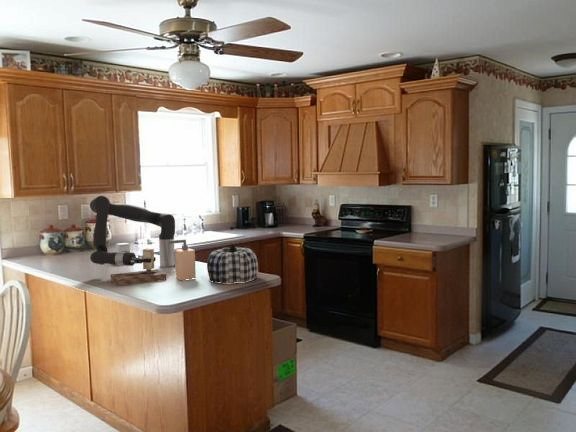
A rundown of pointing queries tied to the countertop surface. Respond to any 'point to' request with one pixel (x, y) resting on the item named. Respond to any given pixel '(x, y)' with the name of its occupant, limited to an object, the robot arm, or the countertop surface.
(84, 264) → the countertop surface
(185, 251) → the soap dispenser
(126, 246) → the supplement box
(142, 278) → the walnut keyhole board
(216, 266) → the decorative pumpkin
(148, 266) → the birch peg
